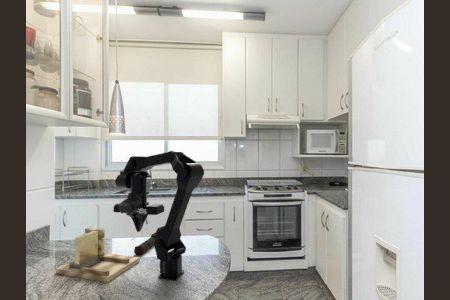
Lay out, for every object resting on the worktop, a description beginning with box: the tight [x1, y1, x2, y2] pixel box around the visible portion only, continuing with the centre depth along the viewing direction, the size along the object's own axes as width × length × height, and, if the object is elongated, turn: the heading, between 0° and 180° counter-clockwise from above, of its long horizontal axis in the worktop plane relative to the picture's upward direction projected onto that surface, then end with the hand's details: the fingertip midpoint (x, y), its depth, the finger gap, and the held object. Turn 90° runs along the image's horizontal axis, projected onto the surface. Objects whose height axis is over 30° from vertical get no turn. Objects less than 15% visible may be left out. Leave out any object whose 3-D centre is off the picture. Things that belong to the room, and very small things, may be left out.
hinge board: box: [55, 227, 141, 283], centre depth 88 cm, size 22×16×12 cm
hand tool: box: [133, 231, 156, 256], centre depth 107 cm, size 19×4×5 cm, turn 167°
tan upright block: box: [68, 231, 106, 269], centre depth 89 cm, size 7×12×10 cm, turn 163°
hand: (138, 231), depth 90 cm, fingers closed
